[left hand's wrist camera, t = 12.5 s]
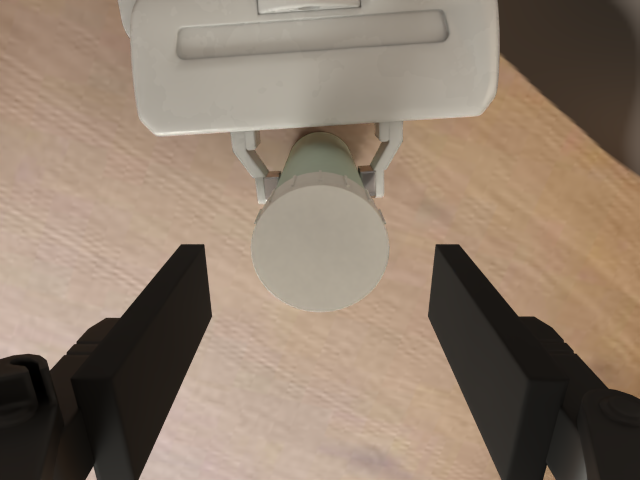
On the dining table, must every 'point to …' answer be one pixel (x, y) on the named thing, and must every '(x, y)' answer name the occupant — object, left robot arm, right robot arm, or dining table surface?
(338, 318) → the dining table surface
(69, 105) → the dining table surface
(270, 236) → the lid
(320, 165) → the jar
